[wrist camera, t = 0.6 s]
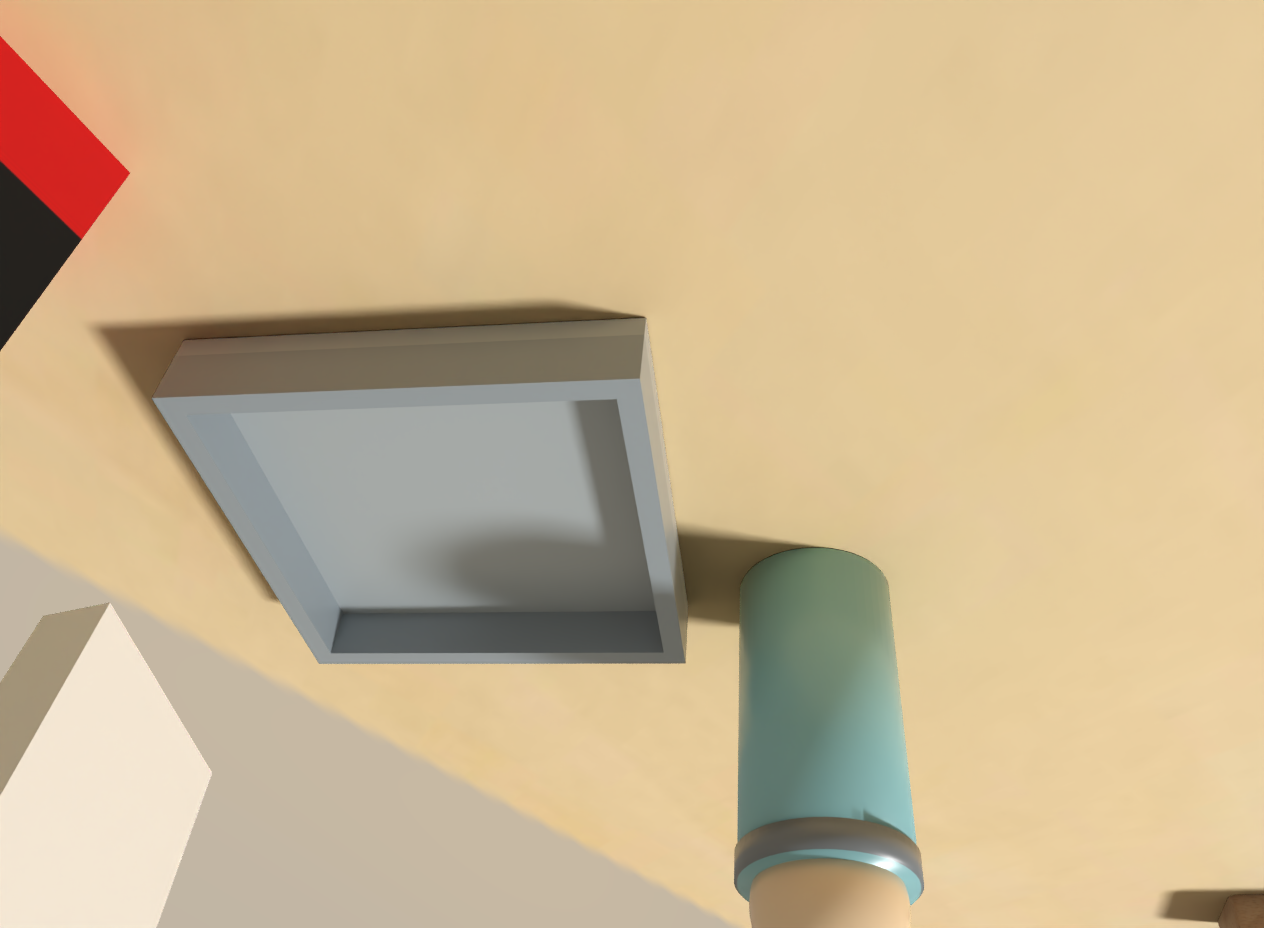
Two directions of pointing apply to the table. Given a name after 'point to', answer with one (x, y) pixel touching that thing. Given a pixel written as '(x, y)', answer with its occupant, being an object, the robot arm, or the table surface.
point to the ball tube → (822, 748)
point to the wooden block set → (1243, 912)
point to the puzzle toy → (43, 186)
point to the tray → (446, 488)
